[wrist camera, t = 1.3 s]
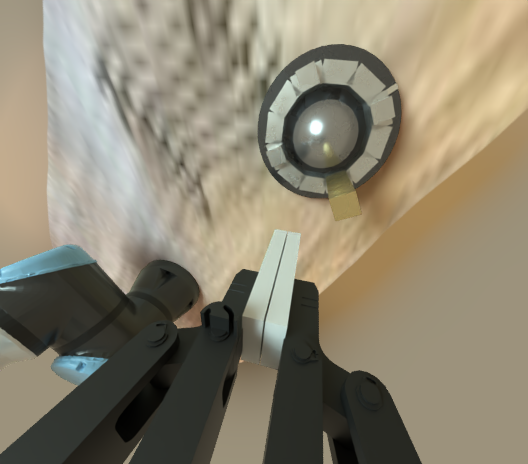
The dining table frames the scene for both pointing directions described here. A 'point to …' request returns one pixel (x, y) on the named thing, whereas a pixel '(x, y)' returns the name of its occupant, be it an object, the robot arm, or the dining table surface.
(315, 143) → the housing
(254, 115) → the dining table surface
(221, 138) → the dining table surface
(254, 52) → the dining table surface
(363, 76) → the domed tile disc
